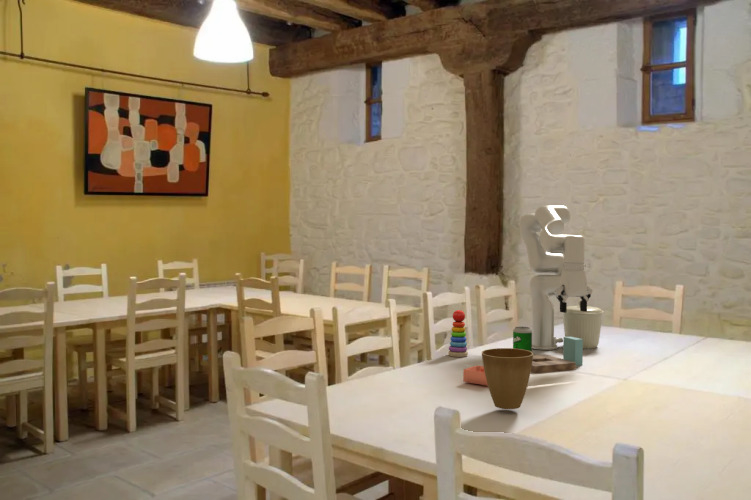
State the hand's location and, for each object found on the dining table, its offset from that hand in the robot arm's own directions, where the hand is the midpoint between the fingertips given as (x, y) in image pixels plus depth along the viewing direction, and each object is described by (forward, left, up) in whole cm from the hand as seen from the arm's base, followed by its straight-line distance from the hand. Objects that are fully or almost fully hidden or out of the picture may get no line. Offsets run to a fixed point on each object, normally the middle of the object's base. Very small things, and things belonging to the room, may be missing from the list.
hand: (573, 311), depth 265 cm
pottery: (+44, +10, -21) cm, 50 cm away
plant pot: (+60, +44, -20) cm, 77 cm away
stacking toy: (+33, -31, -20) cm, 50 cm away
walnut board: (+15, 0, -20) cm, 25 cm away
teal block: (0, 0, -20) cm, 20 cm away
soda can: (+10, -19, -20) cm, 30 cm away
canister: (-27, -27, -20) cm, 43 cm away
